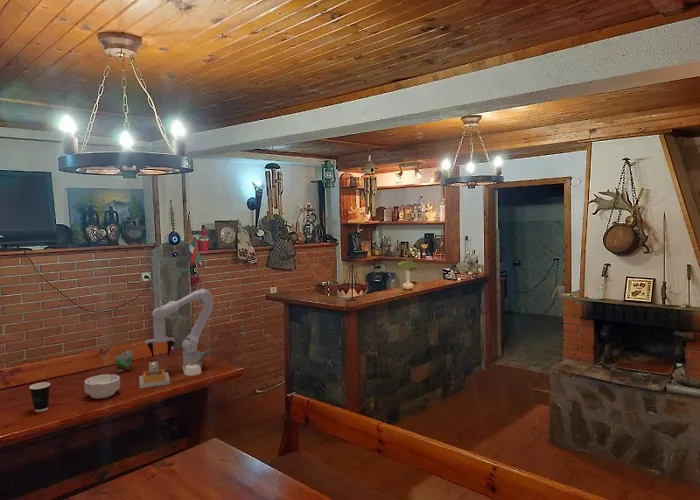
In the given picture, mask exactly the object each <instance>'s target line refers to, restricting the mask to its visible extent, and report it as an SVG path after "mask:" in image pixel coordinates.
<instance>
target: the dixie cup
mask: <svg viewBox="0 0 700 500" xmlns="http://www.w3.org/2000/svg"><path fill="white" fill-rule="evenodd" d="M50 387H51V383H50V382H47V381H46V382H45V381H44V382H37V383H34V384H31V385H30V386H29V390H30V394H31V395H30V396H31V400H32V404H33V409H34V411H35V412H37V413H41V412H45V411H47V410H48V409H49V404H50V403H49V402H50Z"/></svg>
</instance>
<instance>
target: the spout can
mask: <svg viewBox="0 0 700 500" xmlns="http://www.w3.org/2000/svg"><path fill="white" fill-rule="evenodd" d="M159 370H160V369H159V362H158V361H157V360H153V361H150V362H148V371H149V376H156V375H159Z"/></svg>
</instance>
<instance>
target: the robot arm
mask: <svg viewBox="0 0 700 500" xmlns="http://www.w3.org/2000/svg"><path fill="white" fill-rule="evenodd" d="M193 301H195V302H200V304H201V307H202V309H201V311H200V313H199V314H198V317H197V318H196V320H195V322H194V326H192V329H191V331H190V333H189V334H188V335H187V336H186V338H185V339H184V340H183V341H182V343H181V347H182V349H183V351H182V362H183V363H182V364H183V365H182V366H181V367H182V371H183V372H184V370H185V366H186V365H188V364H189V363H193V361H194V360H195V358H196V357H197V356H198V355H199V354H200V353H202V352H201V351H198V345H199V342H200V340H199V339H200V336H201V334H202V332H203V331H204V328H205V326H206V325H207V322H208V319H209V317H210V316H211V315H212V311H213V309H214V296H213V293H212V292H211V291H209V290H207V289H205V288H200V289H198V290H195V291H192V292H191V293H190V294H188V295H186V296H184V297H182V298H180V299H179V300H177V301H174V300H172V301H171V300H169V301H168V303H165V304H164V305H160V306H159V307H156V308H154V309H153V311H151V312H152V313H151V316H152V317H153V325H152V326H153V338H151V339H146V340H145V339H144V340H145V341H144V343H145V345H147V347H148V349H149V351H150V353H151V358H154V357H155V356H154V347H153V346H154V345H153V344H160V343H166V345H167V356H170V351H171V348H172V346H173V344H174V343H173V342H175V337H172V336H171V337H169V336H168V337H166V322H165V318H166V317H167V316H169V315H172V314H174V313H175V312H177V311H178V310H179V308H180V307H183V306H184V305H186V304H189V303H191V302H193ZM198 364H199V365H200V368H201V370H202V369H203V368H202V361H201V362H199V363H198Z"/></svg>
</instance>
